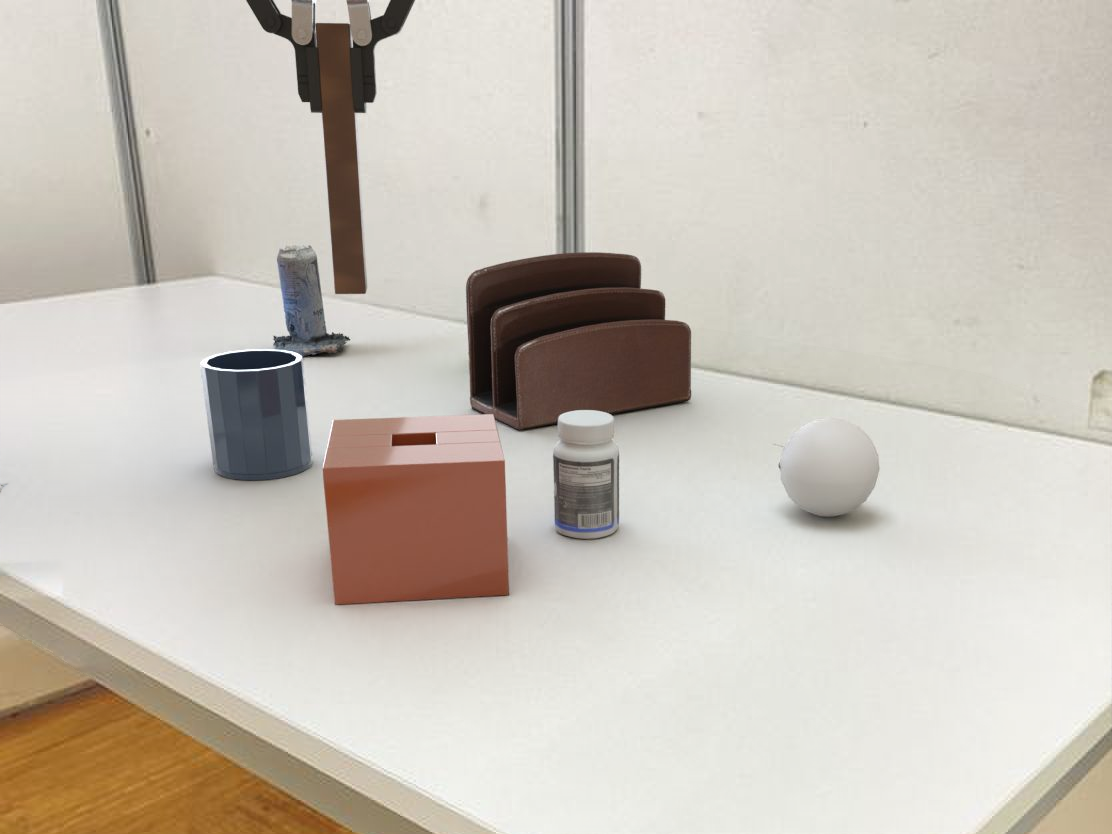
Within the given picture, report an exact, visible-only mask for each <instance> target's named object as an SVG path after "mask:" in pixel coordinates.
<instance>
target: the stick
mask: <svg viewBox="0 0 1112 834" xmlns="http://www.w3.org/2000/svg"><path fill="white" fill-rule="evenodd" d="M315 26H316V42H317V47H318V61H319V76H320V90H321V104H322V113H321V118H322V119H321V120H322V121H321V122H322V136H323V148H324V164H325V177H326V189H327V191H326V192H327V206H328V217H329V220H328V221H329V233H330V247H331V249H330V250H331V261H332V263H331V264H332V275H333V288H334V289H333V291H334V294H335V295H366V293H367V291H368V277H367V259H366V242H365V228H364V227H365V225H364V213H363V212H364V211H363V210H364V209H363V198H362V197H363V196H362V193H363V192H362V179H361V178H362V177H361V164H360V163H361V161H360V147H359V131H358V129H359V128H358V115H357V114H358V113H355V111H354V109H353V94H352V78H351V62H350V48H353V39H352V34H351V26H350V23H349V22H348V23H346V22H345V23H344V22H316V24H315Z"/></svg>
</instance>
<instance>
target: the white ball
mask: <svg viewBox="0 0 1112 834" xmlns="http://www.w3.org/2000/svg"><path fill="white" fill-rule="evenodd" d="M771 445H773V446H777V447H779V448H780V447H781V448H783V449H782V451H781V455H780V460H779V463H778V468H779V474H780V475H779V476H780V481H781V484H782V486H783V488H784V490H785V492H786V494H787V497H788V498H789V499H790V500H791V501H792V502H793V503H794V504H795V505H796V506H797V507H798V508H800V509H801V510H803V511H805V512H807V513H810V514H812V515H814V516H818V517H823V518H824V517H825V518H832V517H837V516H841V515H844V514H848V513H851V512H853V511H854V510H856V509H857V508H859V507H860V506H861V505H862V504H864V503H865V502H866V501H867V500H868V498H869V497H870V496H871V494H872V492H873V491H874V490H875V488H876V485H877V481H878V477H879V473H880V469H881V467H880V459H879V458H880V457H879V453H878V451H877V448H876V446H875V444H874V442H873V440H872V438H871V437H870V436H869V435H868V434H867V433H866V432H865V430H864V429H862V428H861V426H859V425H856V424H855V423H852V422H851V421H849V420H846V419H843V418H839V417H822V418H818V419H815V420H812V421H810V422H807V423H805V424H803V425H802V426H801V427H800V428H798V429H797V430H795V432H793V433H792V435H791V436H790V437H789V439H788V441H787V443H785V446H784V445H780V444H777V443H772V444H771Z"/></svg>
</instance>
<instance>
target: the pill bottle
mask: <svg viewBox="0 0 1112 834" xmlns="http://www.w3.org/2000/svg"><path fill="white" fill-rule="evenodd" d="M557 437H558V439H559V440H558V441H557V442H556V443H555V444H554V447H553V450H552V451H553V452H552V460H553V461H552V462H553V463H552V465H553V467H552V470H553V499H554V501H553V502H554V504H553V505H554V506H553V507H554V510H553V511H554V515H553V516H554V528H555V530H556V531H557V532H558V533H559V534H561V535H562V536H565V537H569V538H574V539H584V540H591V539H599V538H605V537H607V536H610V535H612V534H613V533H615V532H616V531H617V530H618V529H619V526H620V448H619V446H618V444H617V442H616V441H614V440H613V439H614V437H615V418H614V416H613V414H608V413H605V412H601V411H595V410H576V411H570V412H566V413H563V414H561V415H560V416H559V417H558V423H557Z"/></svg>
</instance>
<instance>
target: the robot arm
mask: <svg viewBox="0 0 1112 834" xmlns="http://www.w3.org/2000/svg"><path fill="white" fill-rule="evenodd" d="M245 1H246V3H247V4H248V6H249V8H250V10H251V11H252V13H253V15H254V16H255V18H256V20H257V21H258V23H259V25H260V27H261V28H262V29H263V30H264V31H265V32H266V33H268V34H273V35H275V36H279V37H281V38H284V39H286V40H287V41H288V42H290V43H291V45H292V46H293V49H294V56H295V58H294V59H295V69H296V83H297V94H298V96H299V99H300V101H301V103H309V109H310V113H312V114H322V104H321V90H320V76H319V61H318V47H317V40H316V26H315V24H316V23H317V3H318V2H317V1H318V0H291V17H290V16H288V15H286V14H284V13H281V11H280V9H279V8H278V6H277V4H276V2H275V0H245ZM345 1H346V4H347V5H346V6H347V11H348V18H349V19H348V20H349V24H350V26H351V34H352V47H353V48H350V62H351V78H352V94H353V109H354V111H355V113H357V114H366V113H367V104H373V103H374V102H375V100H376V98H377V97H376V96H377V94H378V93H377V77H376V76H377V75H376V59H375V51H376V46H377V45H378V44H379V42H381V41H383V40H385V39H388V38H391V37H393V36H397V35H398V34H400V33H401V32H402V30H403V28H404V26H405V23H406V21H407V19H408V16H409V15H410V13H411V10H412V8H413V5H414V4H415V1H416V0H389V2H388V5H387V7H386V9H385V11H384V13H383V14H382V15H379V16H377V17H375V18H372V13H371V4H370V0H345Z"/></svg>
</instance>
